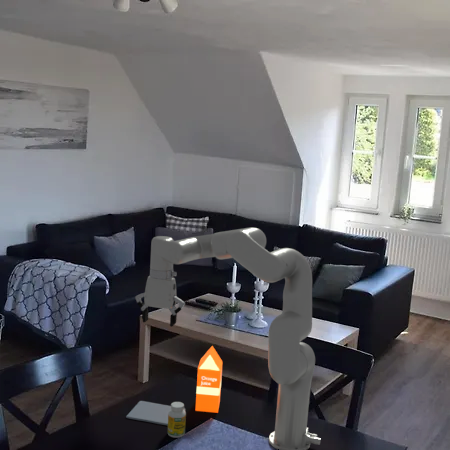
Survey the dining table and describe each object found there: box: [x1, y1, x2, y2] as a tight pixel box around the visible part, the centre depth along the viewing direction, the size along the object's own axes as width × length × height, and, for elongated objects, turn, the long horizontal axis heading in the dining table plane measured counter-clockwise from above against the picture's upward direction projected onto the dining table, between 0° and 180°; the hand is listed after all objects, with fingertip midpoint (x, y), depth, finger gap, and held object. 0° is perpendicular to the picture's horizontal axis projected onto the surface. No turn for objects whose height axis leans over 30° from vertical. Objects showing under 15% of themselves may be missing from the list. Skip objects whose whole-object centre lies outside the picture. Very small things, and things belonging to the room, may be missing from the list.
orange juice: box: [195, 345, 223, 414], centre depth 213 cm, size 8×9×20 cm
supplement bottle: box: [167, 401, 187, 439], centre depth 194 cm, size 5×5×10 cm
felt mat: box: [125, 400, 187, 427], centre depth 206 cm, size 16×12×1 cm
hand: (158, 323), depth 213 cm, fingers open, 9 cm apart
